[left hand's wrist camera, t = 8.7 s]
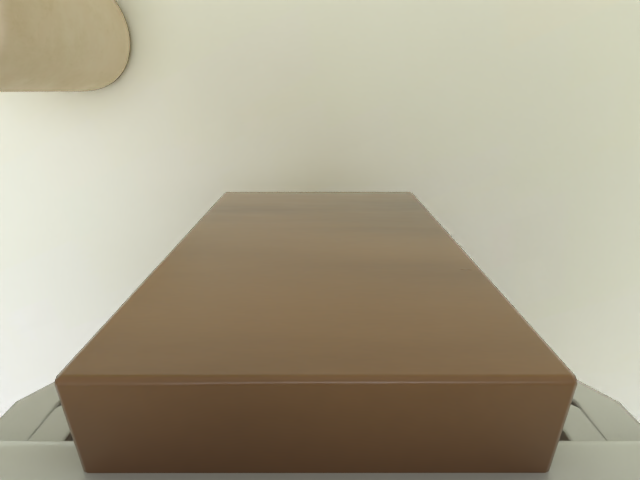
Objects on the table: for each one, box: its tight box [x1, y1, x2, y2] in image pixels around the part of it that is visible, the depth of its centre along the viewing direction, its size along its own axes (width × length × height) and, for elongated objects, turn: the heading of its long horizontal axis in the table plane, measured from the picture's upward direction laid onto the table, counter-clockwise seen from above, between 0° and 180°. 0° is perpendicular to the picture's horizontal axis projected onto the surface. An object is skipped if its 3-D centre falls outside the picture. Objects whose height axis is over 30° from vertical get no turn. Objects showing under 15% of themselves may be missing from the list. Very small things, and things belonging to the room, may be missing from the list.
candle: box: [0, 0, 130, 92], centre depth 15 cm, size 6×6×10 cm
